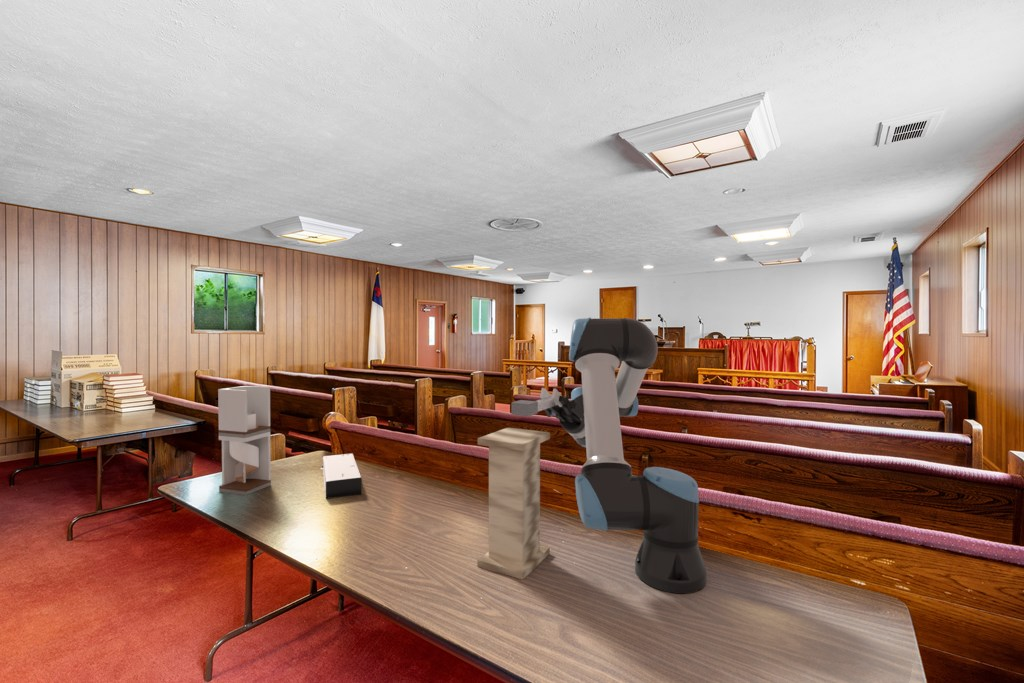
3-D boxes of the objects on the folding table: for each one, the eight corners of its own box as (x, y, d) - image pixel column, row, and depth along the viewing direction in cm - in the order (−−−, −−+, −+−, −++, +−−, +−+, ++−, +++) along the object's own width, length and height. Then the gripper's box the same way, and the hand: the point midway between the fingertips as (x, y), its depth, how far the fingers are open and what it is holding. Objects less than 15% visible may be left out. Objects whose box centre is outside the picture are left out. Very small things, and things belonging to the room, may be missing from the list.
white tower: (219, 491, 159) (218, 389, 158) (245, 482, 169) (244, 385, 168) (245, 495, 155) (244, 390, 155) (270, 485, 166) (270, 387, 165)
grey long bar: (551, 401, 136) (551, 391, 136) (566, 403, 134) (566, 392, 134) (511, 414, 115) (511, 402, 115) (528, 416, 113) (528, 404, 113)
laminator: (361, 495, 156) (361, 477, 156) (322, 501, 151) (322, 482, 151) (352, 468, 187) (352, 453, 187) (319, 472, 183) (319, 456, 182)
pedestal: (507, 542, 121) (507, 427, 120) (549, 553, 115) (550, 432, 114) (477, 566, 109) (477, 438, 108) (522, 579, 103) (523, 444, 102)
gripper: (597, 437, 141) (572, 407, 123) (549, 431, 148) (519, 403, 130) (601, 413, 144) (577, 381, 126) (554, 409, 151) (525, 378, 133)
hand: (547, 392), depth 128 cm, fingers closed on grey long bar, 3 cm apart
